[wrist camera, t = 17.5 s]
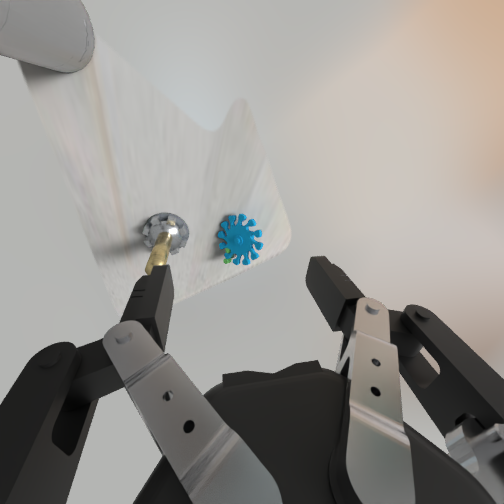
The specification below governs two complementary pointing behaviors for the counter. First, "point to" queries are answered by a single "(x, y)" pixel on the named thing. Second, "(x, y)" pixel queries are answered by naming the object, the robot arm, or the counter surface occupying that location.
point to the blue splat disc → (239, 240)
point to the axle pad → (178, 220)
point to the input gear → (163, 239)
